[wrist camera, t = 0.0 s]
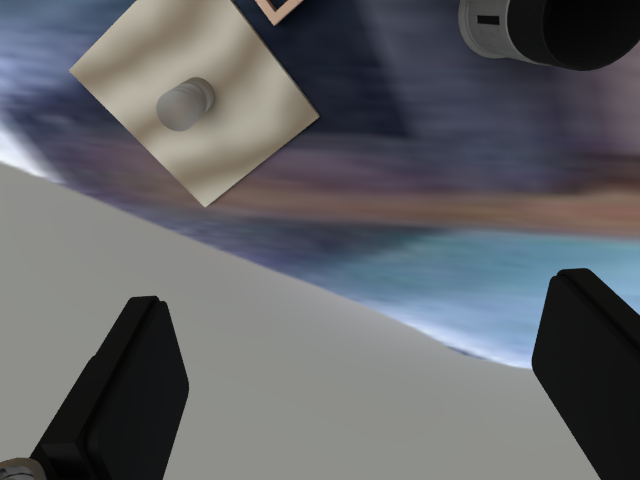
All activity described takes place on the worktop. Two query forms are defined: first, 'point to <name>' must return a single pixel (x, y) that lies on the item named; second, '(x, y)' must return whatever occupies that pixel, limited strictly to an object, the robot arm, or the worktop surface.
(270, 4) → the collar
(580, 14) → the glass holder
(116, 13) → the worktop surface
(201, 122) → the base
